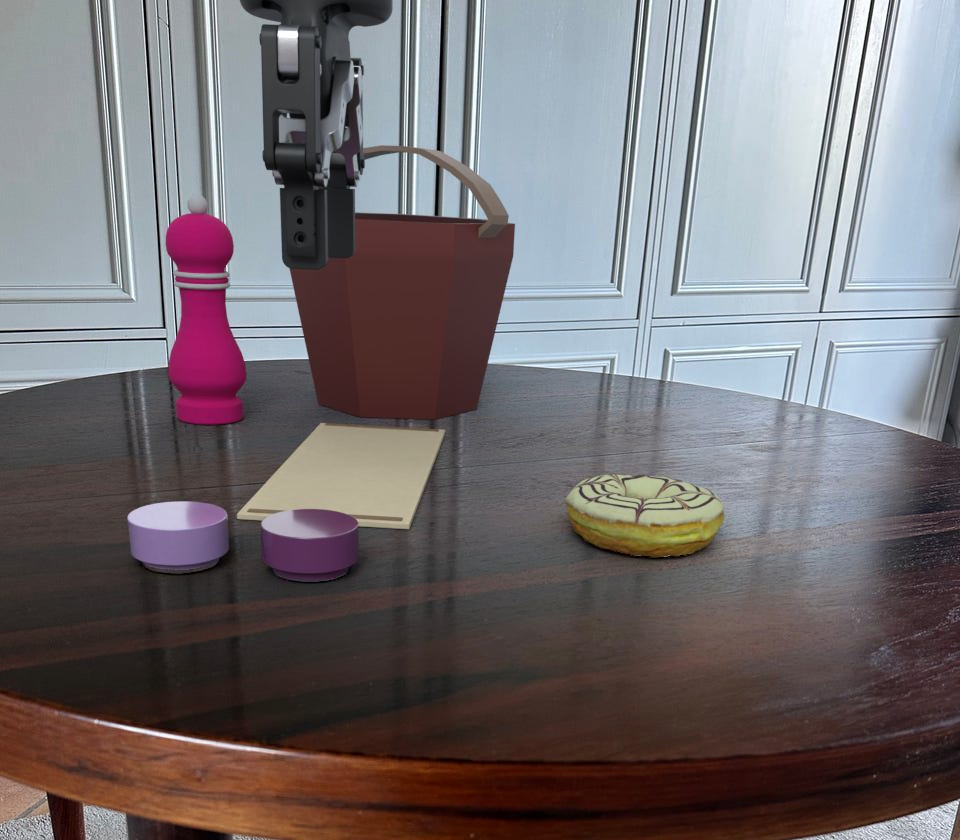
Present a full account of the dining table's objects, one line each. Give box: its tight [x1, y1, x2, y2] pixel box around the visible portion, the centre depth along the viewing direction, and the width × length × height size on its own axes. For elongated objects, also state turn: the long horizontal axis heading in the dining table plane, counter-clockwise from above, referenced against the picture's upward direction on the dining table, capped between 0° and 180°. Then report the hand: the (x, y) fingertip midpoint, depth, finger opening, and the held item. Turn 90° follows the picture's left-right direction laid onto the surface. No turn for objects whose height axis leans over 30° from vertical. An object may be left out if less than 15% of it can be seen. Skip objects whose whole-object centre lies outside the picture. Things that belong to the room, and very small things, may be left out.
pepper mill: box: [165, 193, 248, 426], centre depth 95 cm, size 7×7×20 cm
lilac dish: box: [126, 500, 230, 570], centre depth 62 cm, size 6×6×3 cm
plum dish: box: [259, 509, 360, 581], centre depth 62 cm, size 6×6×3 cm
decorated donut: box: [564, 474, 725, 558], centre depth 70 cm, size 10×11×4 cm
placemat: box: [236, 422, 446, 530], centre depth 84 cm, size 12×30×1 cm, turn 177°
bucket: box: [288, 145, 516, 421], centre depth 106 cm, size 24×22×25 cm
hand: (321, 262), depth 56 cm, fingers open, 8 cm apart
